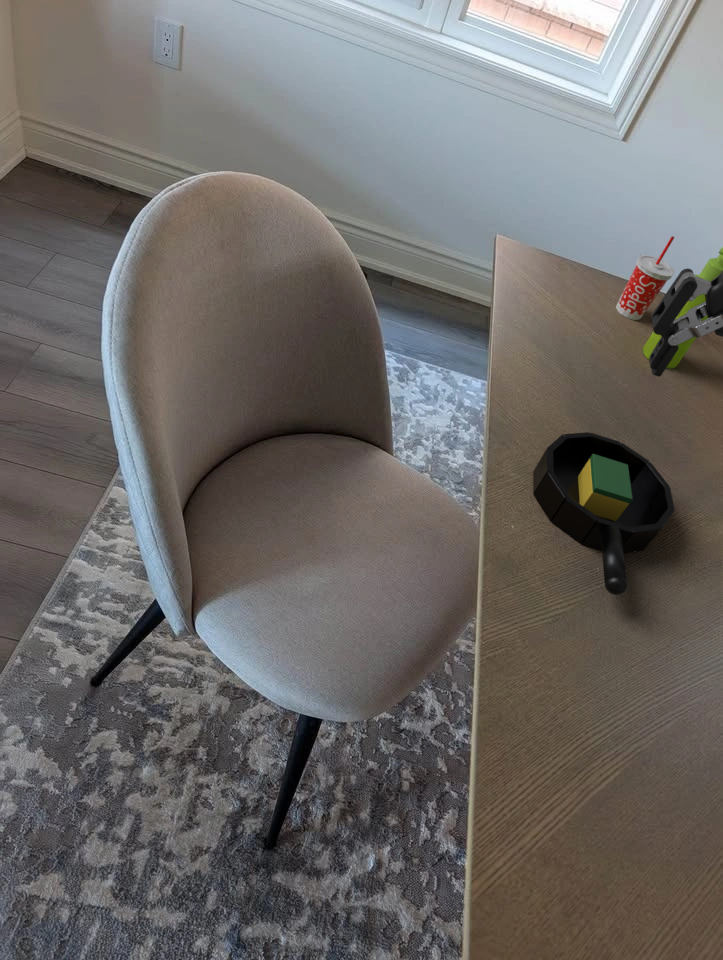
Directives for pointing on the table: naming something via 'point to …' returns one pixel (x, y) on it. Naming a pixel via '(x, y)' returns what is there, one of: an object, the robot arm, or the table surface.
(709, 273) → the soap dispenser
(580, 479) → the sponge
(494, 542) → the table surface
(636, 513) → the pan
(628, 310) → the beverage cup
